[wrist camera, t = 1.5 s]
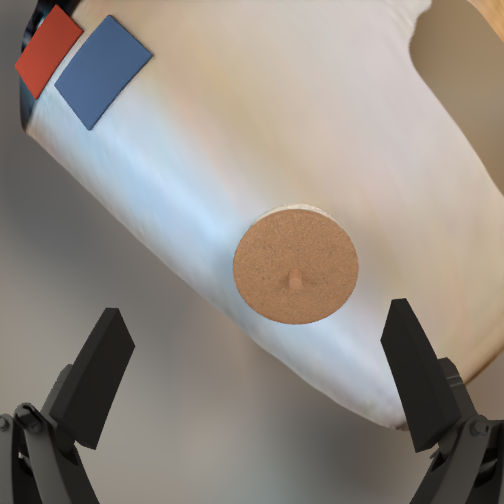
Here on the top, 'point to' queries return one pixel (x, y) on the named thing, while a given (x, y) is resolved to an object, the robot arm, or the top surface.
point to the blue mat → (101, 70)
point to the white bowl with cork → (295, 265)
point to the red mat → (47, 49)
